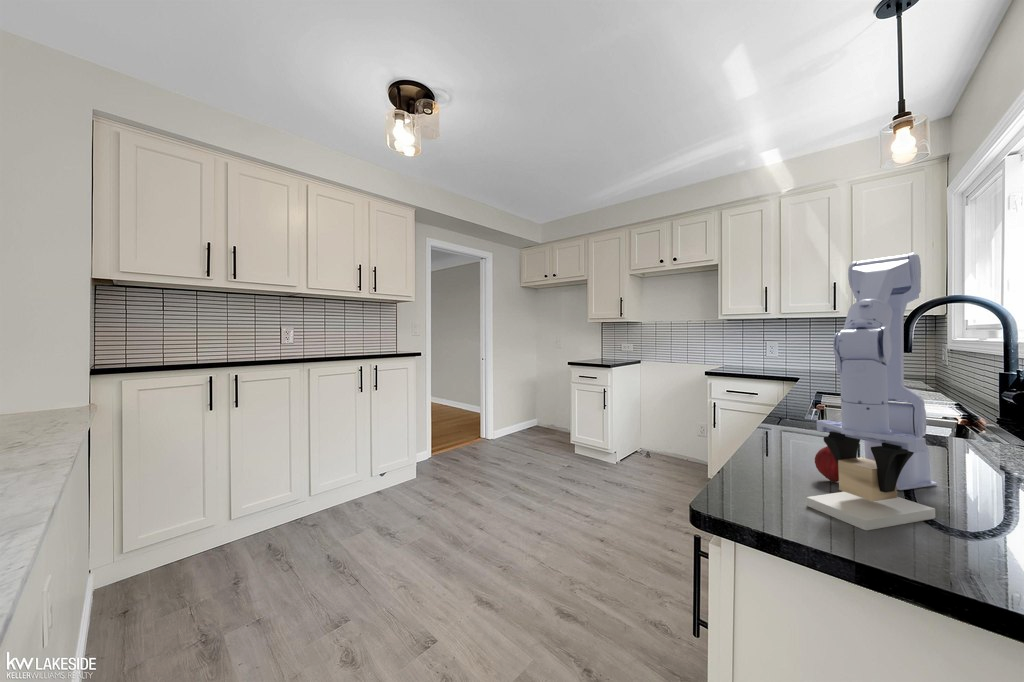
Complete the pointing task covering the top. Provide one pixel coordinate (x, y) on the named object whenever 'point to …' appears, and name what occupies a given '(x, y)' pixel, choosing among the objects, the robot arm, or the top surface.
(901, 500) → the cutting board
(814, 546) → the top surface
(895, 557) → the top surface
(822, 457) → the onion
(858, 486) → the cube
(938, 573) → the top surface
